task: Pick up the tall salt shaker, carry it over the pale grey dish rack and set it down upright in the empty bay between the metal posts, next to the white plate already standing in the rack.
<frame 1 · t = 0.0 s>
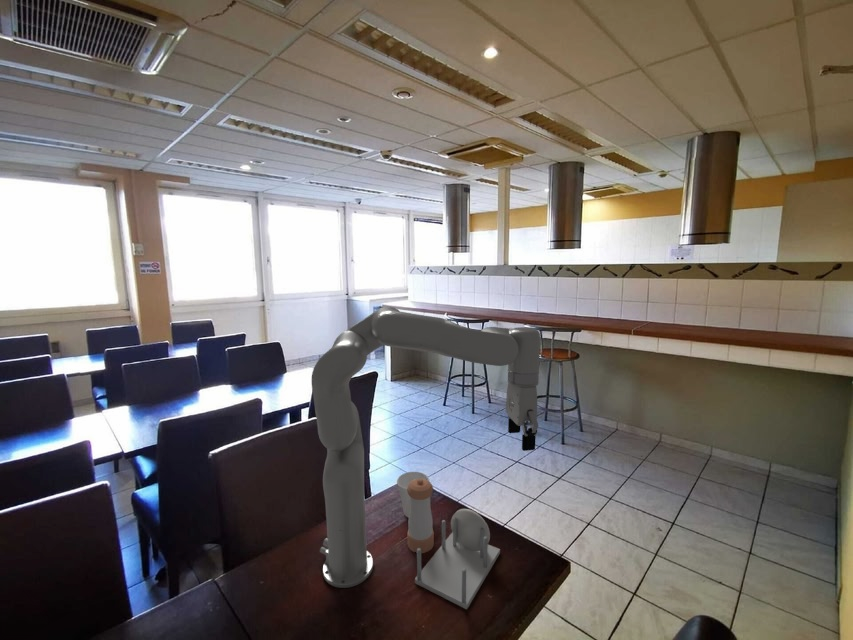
hand: (520, 440, 103), 31 cm above the table, tool pointing down, fingers open, 9 cm apart
salt shaker: (420, 544, 110), on the table
dish rack: (459, 567, 101), on the table
cup: (413, 513, 123), on the table
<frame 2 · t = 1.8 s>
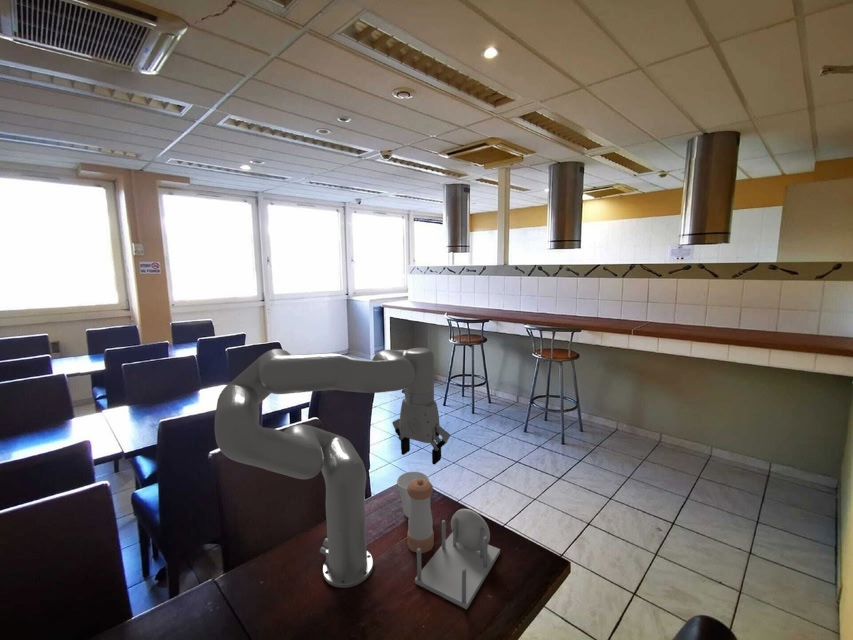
hand: (420, 457, 106), 26 cm above the table, tool pointing down, fingers open, 9 cm apart
nothing on the table moved.
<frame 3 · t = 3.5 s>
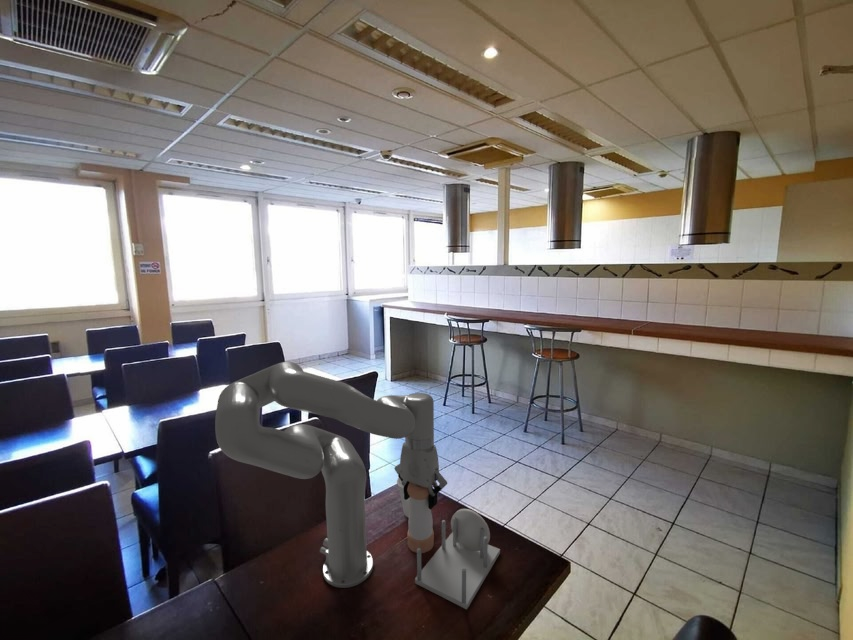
hand: (420, 501, 108), 13 cm above the table, tool pointing down, fingers closed on salt shaker, 7 cm apart
salt shaker: (420, 544, 110), on the table, touching gripper
everything else where it was.
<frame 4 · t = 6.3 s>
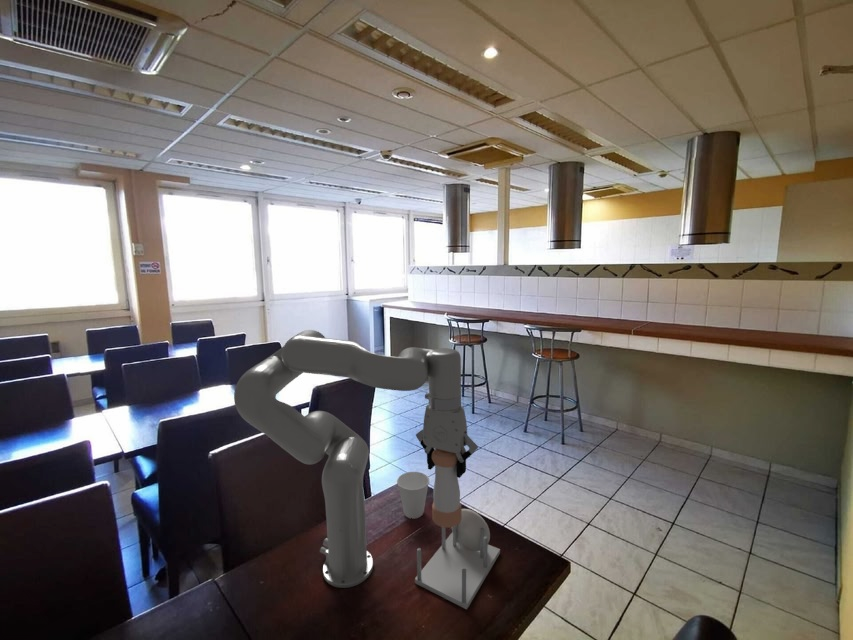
hand: (446, 470, 97), 27 cm above the table, tool pointing down, fingers closed on salt shaker, 7 cm apart
salt shaker: (446, 518, 99), point 14 cm above the table, touching gripper
everything else where it was.
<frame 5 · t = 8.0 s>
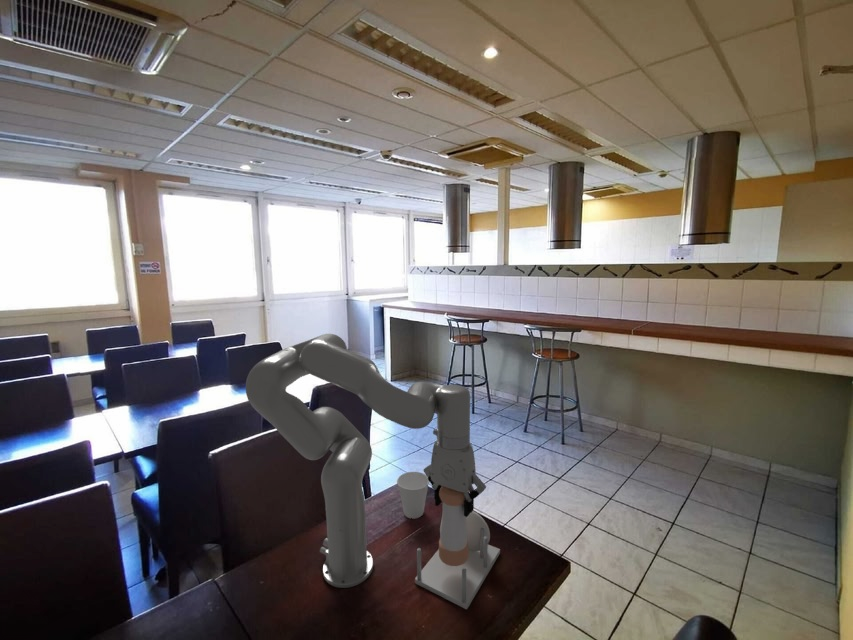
hand: (453, 507, 95), 19 cm above the table, tool pointing down, fingers closed on salt shaker, 7 cm apart
salt shaker: (453, 555, 98), point 6 cm above the table, touching gripper
everything else where it was.
when the fingers open (15 cm above the table, at t = 9.3 s): salt shaker drops 1 cm, resting on dish rack.
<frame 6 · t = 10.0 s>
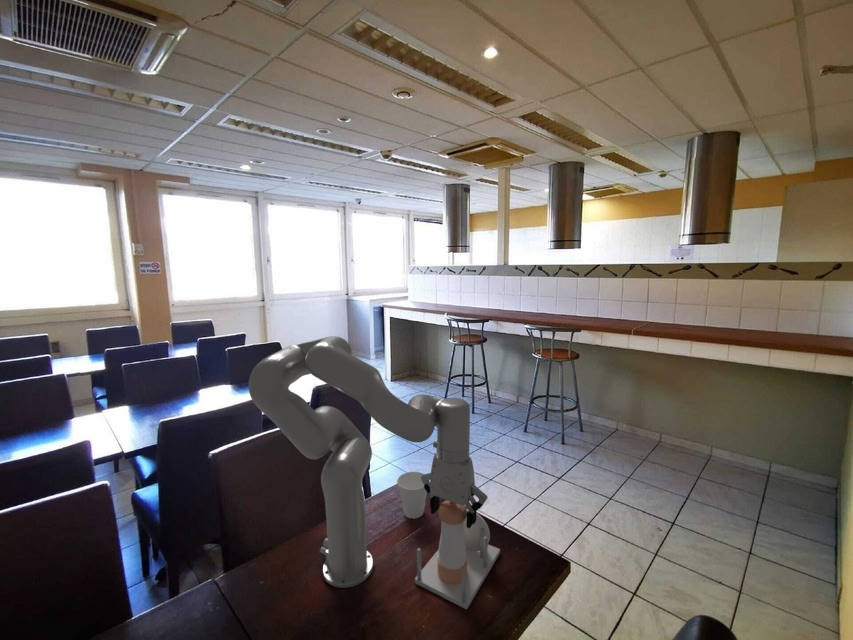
hand: (452, 517, 96), 16 cm above the table, tool pointing down, fingers open, 9 cm apart
salt shaker: (452, 573, 98), point 1 cm above the table, touching dish rack
everything else where it was.
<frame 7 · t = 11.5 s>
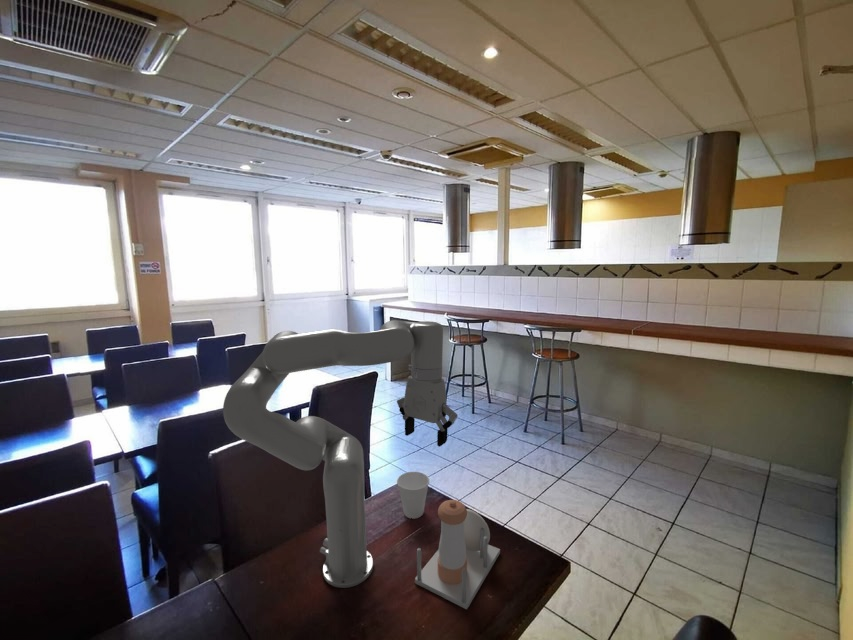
hand: (425, 438, 99), 33 cm above the table, tool pointing down, fingers open, 9 cm apart
nothing on the table moved.
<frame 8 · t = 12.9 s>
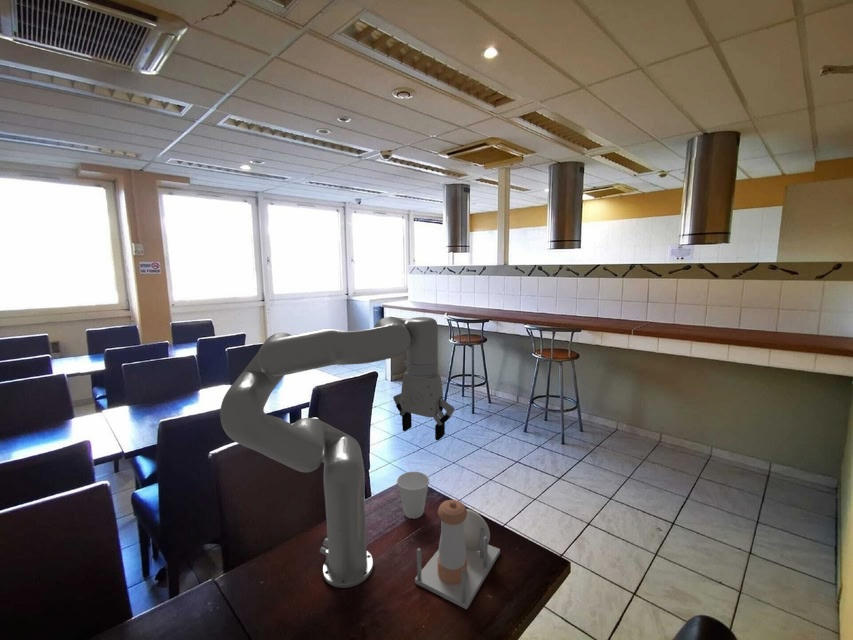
hand: (423, 433, 100), 34 cm above the table, tool pointing down, fingers open, 9 cm apart
nothing on the table moved.
at the end: salt shaker 0.2 cm from the target spot on the dish rack, point 1.0 cm above the dish rack's base; salt shaker tilted 0°; the gripper is holding nothing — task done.
